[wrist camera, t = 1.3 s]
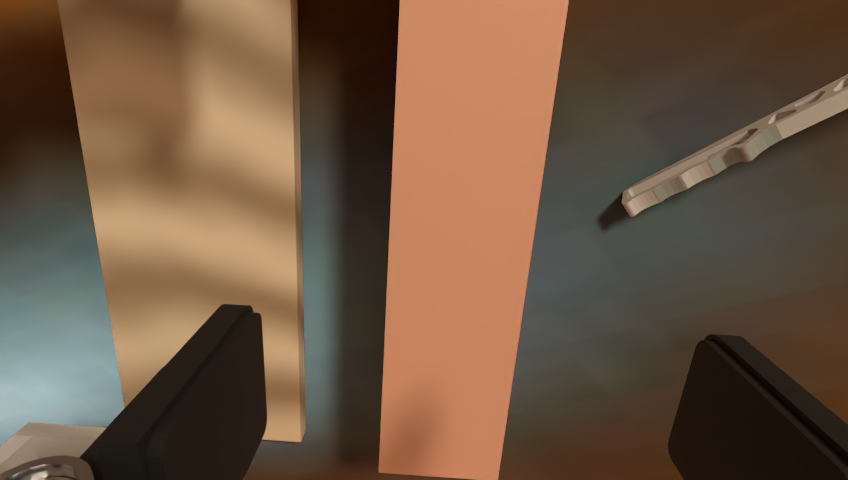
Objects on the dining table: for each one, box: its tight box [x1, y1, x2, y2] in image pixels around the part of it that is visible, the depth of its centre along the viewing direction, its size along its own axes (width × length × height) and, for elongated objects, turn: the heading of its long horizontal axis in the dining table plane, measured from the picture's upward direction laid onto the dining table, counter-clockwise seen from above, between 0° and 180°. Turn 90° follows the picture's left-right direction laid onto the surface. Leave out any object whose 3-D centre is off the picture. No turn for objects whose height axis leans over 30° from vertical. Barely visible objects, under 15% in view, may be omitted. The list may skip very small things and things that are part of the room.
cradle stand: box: [0, 0, 306, 480], centre depth 20 cm, size 32×11×12 cm, turn 176°
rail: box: [379, 0, 569, 480], centre depth 23 cm, size 25×6×7 cm, turn 176°
